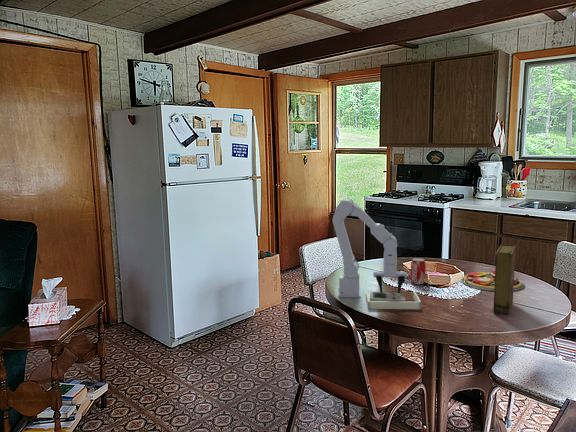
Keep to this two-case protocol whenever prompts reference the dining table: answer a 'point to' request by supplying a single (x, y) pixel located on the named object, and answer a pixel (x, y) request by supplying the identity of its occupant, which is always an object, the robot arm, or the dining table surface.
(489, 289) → the toy pizza
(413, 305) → the white tray
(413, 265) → the soda can
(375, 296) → the handheld gaming device
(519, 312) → the dining table surface
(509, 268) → the book
